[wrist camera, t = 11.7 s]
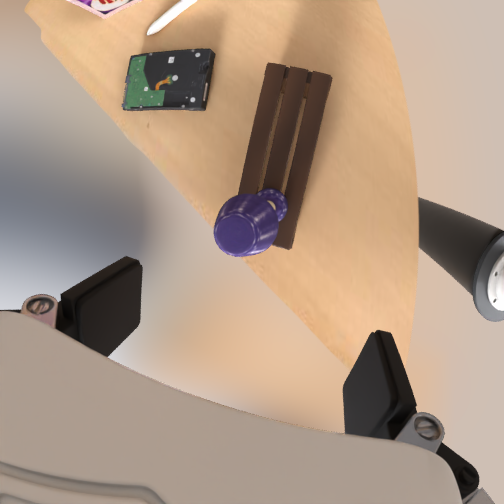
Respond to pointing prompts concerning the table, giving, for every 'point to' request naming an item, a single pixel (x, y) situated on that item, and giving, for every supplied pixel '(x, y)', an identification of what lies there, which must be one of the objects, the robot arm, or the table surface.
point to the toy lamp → (250, 222)
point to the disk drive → (169, 80)
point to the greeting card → (104, 6)
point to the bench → (285, 138)
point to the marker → (169, 15)
